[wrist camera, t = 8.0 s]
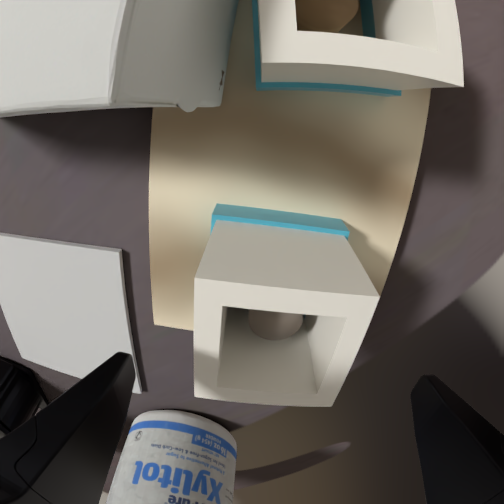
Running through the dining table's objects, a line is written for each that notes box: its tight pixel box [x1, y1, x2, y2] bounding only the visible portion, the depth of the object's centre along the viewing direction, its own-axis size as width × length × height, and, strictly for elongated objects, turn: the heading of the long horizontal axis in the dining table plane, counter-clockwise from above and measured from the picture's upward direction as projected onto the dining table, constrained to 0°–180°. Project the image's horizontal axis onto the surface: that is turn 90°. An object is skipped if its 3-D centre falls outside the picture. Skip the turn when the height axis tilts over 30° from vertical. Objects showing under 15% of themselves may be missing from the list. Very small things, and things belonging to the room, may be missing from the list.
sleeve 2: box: [194, 203, 380, 407], centre depth 12 cm, size 6×6×6 cm
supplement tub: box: [106, 410, 237, 504], centre depth 17 cm, size 10×10×15 cm
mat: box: [0, 233, 142, 394], centre depth 18 cm, size 12×12×1 cm
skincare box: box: [0, 0, 239, 118], centre depth 7 cm, size 8×7×16 cm
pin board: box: [149, 0, 431, 340], centre depth 11 cm, size 20×12×5 cm, turn 173°
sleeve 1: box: [252, 0, 464, 97], centre depth 7 cm, size 6×6×6 cm
